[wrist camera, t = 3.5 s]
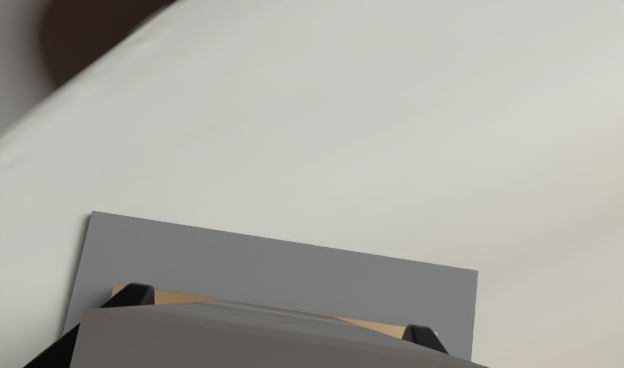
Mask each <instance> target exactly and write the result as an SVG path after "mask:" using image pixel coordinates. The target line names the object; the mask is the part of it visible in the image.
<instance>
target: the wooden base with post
mask: <svg viewBox="0 0 624 368" xmlns="http://www.w3.org/2000/svg"><path fill="white" fill-rule="evenodd" d="M125 286H126V285H124V284H114V287H113V291H112V296H113V295H115V294H116V293H117V292H119V291H120V290H121V289H122V288H124V287H125ZM154 290H155V305H142V306H126V307H111V308H96V309H83V314H82V318H81V322H80V326H79V331H78V335H77V339H76V343H75V347H74V352H73V356H72V360H71V364H70V368H488V367H485V366H482V365H479V364H476V363H473V362H470V361H467V360H464V359H461V358H457V357H454V356H451V355H448V354H445V353H442V352H439V351H436V350H433V349H430V348H427V347H424V346H421V345H418V344H415V343H412V342H409V341H405V340H402V336H403V333H404V331H405V328H406V327H404V326H397V325H390V324H384V323H377V322H370V321H364V320H357V319H350V318H344V317H337V316H330V315H324V314H317V313H310V312H304V311H297V310H290V309H284V308H277V307H270V306H264V305H257V304H250V303H244V302H237V301H230V300H224V299H217V298H211V297H204V296H197V295H191V294H184V293H177V292H171V291H164V290H157V289H154ZM112 296H111V297H112ZM434 333H435V334H436V336H437V334H438V332H434Z"/></svg>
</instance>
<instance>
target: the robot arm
mask: <svg viewBox="0 0 624 368" xmlns="http://www.w3.org/2000/svg"><path fill="white" fill-rule="evenodd" d="M142 305H155V290H154V287H153V286H152V285H150V284H143V283H136V282H131V283H129V284H127V285H126V286H125V287H124V288H122V289H121V290H120V291H119V292H117V293H116V294H115V295H113V296H112V297H111V298H110V299H108V300H107V301H106V302H105V303H103V304H102V305H101V306H100V307H98V308H111V307H126V306H142ZM79 326H80V322H79V323H78V324H77V325H76V326H74V327H73V328H72V329H71V330H69V331H68V332H67V333H66V334H64V335H63V336H62V337H61V338H59V339H58V340H57V341H56V342H54V343H53V344H52V345H50V346H49V347H48V348H47V349H45V350H44V351H43V352H42V353H40V354H39V355H38V356H37V357H35V358H34V359H33V360H32V361H30V362H29V363H28V364H27V365H25V366H24V367H23V368H70V364H71V360H72V356H73V352H74V347H75V343H76V339H77V335H78V331H79ZM402 340H405V341H409V342H412V343H415V344H418V345H421V346H424V347H427V348H430V349H433V350H436V351H439V352H442V353H445V354H448V355H450V354H449V353H448V351H447V350H446V348H445V347H444V346H443V344H442V343H441V341H440V340H439V339H438V337H437V336H436V334H435V333H434V331H433V330H432V329H431V328H430V327H428V326H422V325H416V324H409V325H407V327H406V328H405V331H404V333H403V336H402Z"/></svg>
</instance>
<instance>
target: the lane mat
mask: <svg viewBox="0 0 624 368" xmlns="http://www.w3.org/2000/svg"><path fill="white" fill-rule="evenodd" d="M477 276H478V271H476V270H469V269H463V268H456V267H450V266H444V265H437V264H431V263H424V262H418V261H411V260H405V259H399V258H392V257H386V256H379V255H373V254H366V253H360V252H354V251H347V250H341V249H334V248H328V247H321V246H315V245H309V244H302V243H296V242H289V241H283V240H276V239H270V238H263V237H257V236H251V235H244V234H238V233H231V232H225V231H218V230H212V229H206V228H199V227H193V226H186V225H180V224H173V223H167V222H161V221H154V220H148V219H141V218H135V217H128V216H122V215H116V214H109V213H103V212H96V211H92V214H91V218H90V222H89V226H88V231H87V235H86V239H85V243H84V247H83V251H82V255H81V259H80V264H79V268H78V272H77V276H76V280H75V284H74V288H73V292H72V297H71V301H70V305H69V309H68V313H67V317H66V321H65V325H64V330H63V334H62V336H63V335H64V334H66V333H67V332H68V331H69V330H71V329H72V328H73V327H74V326H76V325H77V324H78V323H79V322H81V318H82V314H83V309H96V308H98V307H100V306H101V305H102V304H103V303H105V302H106V301H107V300H108V299H110V298H111V296H112V291H113V287H114V284H124V285H127V284H129V283H131V282H136V283H143V284H150V285H152V286H153V287H154V289H157V290H164V291H171V292H177V293H184V294H191V295H197V296H204V297H211V298H217V299H224V300H230V301H237V302H244V303H250V304H257V305H264V306H270V307H277V308H284V309H290V310H297V311H304V312H310V313H317V314H324V315H330V316H337V317H344V318H350V319H357V320H364V321H370V322H377V323H384V324H390V325H397V326H404V327H407V325H409V324H416V325H422V326H428V327H430V328H431V329H432V330H433V331H434V332H438V334H437V337H438V339H439V340H440V341H441V343H442V344H443V346H444V347H445V348H446V350H447V351H448V353H449V354H450V355H451V356H454V357H457V358H461V359H464V360H467V361H470V362H471V354H472V341H473V328H474V315H475V302H476V289H477Z"/></svg>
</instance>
